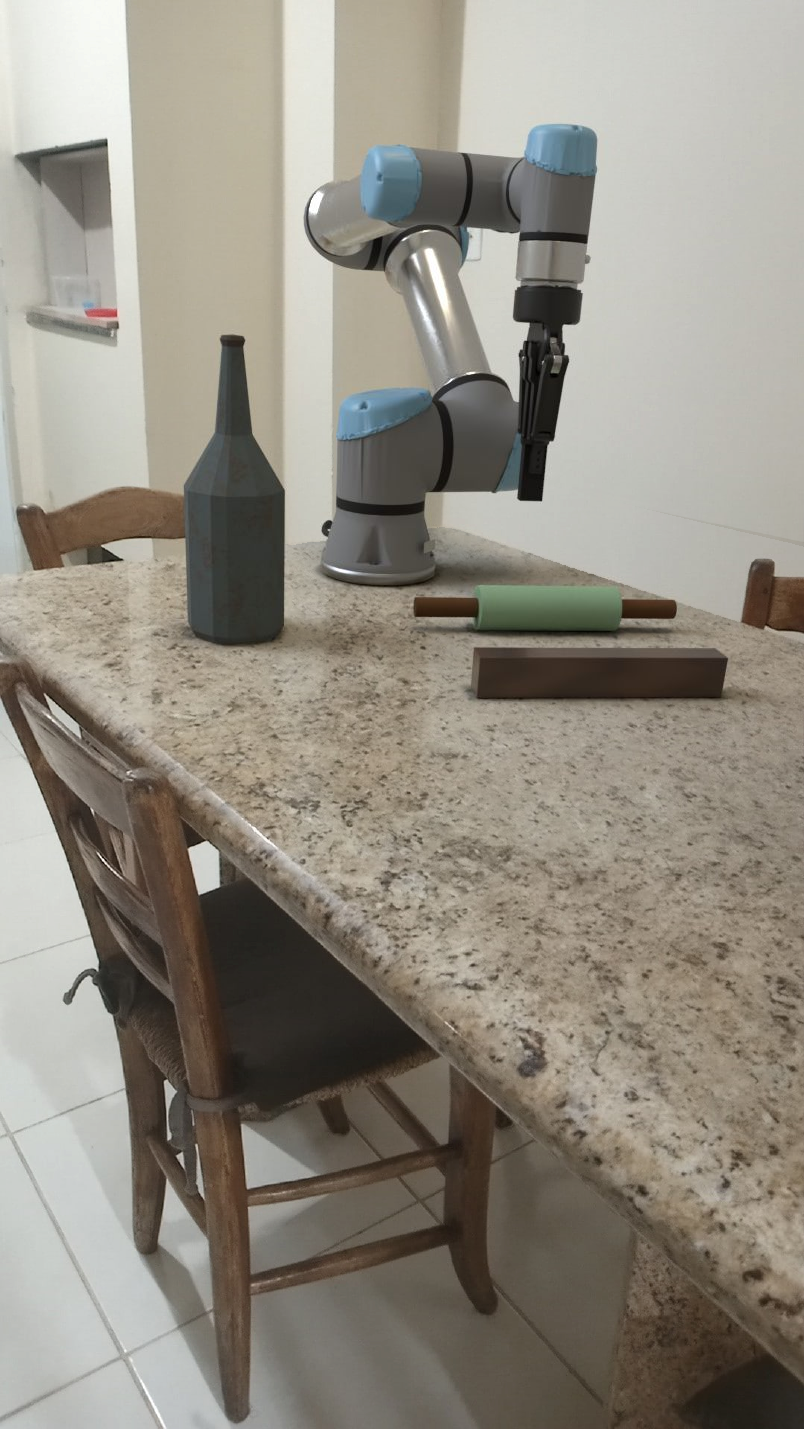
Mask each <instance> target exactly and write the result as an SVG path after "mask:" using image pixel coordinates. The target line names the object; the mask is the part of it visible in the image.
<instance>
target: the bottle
mask: <svg viewBox="0 0 804 1429" xmlns="http://www.w3.org/2000/svg"><path fill="white" fill-rule="evenodd" d="M219 342H220V345H221V351H220V362H219V364H220V365H219V374H218V375H219V376H218V377H219V378H218V389H217V400H216V411H215V412H216V413H215V424H214V433H213V435H212V436H211V437H210V440H209V441H208V443H207V445H206V446H205V448H204V450H203V452H202V453H201V455H200V457H199V458H198V460H197V462H196V463H195V465H194V467H193V468H192V470H191V472H190V473H189V475H188V477H187V479H186V480H185V482H184V484H183V506H184V507H183V508H184V509H183V510H184V538H185V539H184V540H185V541H184V542H185V544H184V545H185V571H186V572H185V574H186V607H187V622H188V624H189V627H190V630H191V631H192V632H193V634H194V637H195V638H196V639H197V638H198V639H199V640H204V641H207V642H210V643H214V644H217V645H219V644H220V645H226V646H227V645H229V646H231V645H249V644H250V645H251V644H260V643H263V642H264V643H265V642H268V641H270V640H272V639H273V638H275V637H276V636H278V635H279V634H280V633H281V632H282V630H283V628H284V626H285V565H286V564H285V556H286V555H285V554H286V551H285V550H286V549H285V548H286V545H285V542H286V539H285V538H286V531H285V530H286V490H285V488H284V486H283V483H281V481H280V479H279V477H278V476H277V474H276V472H275V471H274V468H273V467H272V465H271V463H270V462H269V460H268V459H267V456H266V455H265V454H264V452H263V450H262V448H261V446H260V445H259V442H258V441H257V440H256V438H255V436H254V434H253V426H252V417H251V416H252V415H251V408H250V399H249V397H250V396H249V388H248V378H247V368H246V360H245V358H246V357H245V350H244V346H245V344H246V338H245V336H243V335H239V334H230V333H229V334H221V335H220V337H219Z"/></svg>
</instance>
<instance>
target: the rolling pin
mask: <svg viewBox="0 0 804 1429" xmlns="http://www.w3.org/2000/svg"><path fill="white" fill-rule="evenodd" d="M412 606H413V617H415V618H472V621H473V622H472V623H473V627H474V629H475V630H476V631H557V632H560V631H561V632H563V631H565V632H566V631H567V632H568V631H570V632H573V631H575V632H576V631H577V632H578V631H579V632H582V631H583V632H585V631H586V632H615V631H617V630H618V628H619V627H620V625H621V624H620V623H621V621H622V620H623V619H625V620H630V619H631V620H637V619H638V620H673V619H675V618H676V616H677V613H678V605H677V602H676V600H675V599H653V598H652V599H651V598H649V599H648V598H646V599H645V598H644V599H643V598H641V599H639V598H638V599H637V598H622V594H621V591H620V589H619V588H618V587H617V586H598V585H597V586H596V585H595V586H592V585H591V586H588V585H587V586H586V585H514V584H513V585H512V584H506V585H503V584H498V585H497V584H477V585H476V586H475V588H474V591H473V594H472V597H457V596H456V597H455V596H454V597H453V596H452V597H450V596H448V597H447V596H446V597H445V596H443V597H442V596H439V597H438V596H415V597H414V599H413V605H412Z"/></svg>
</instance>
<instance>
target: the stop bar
mask: <svg viewBox="0 0 804 1429" xmlns="http://www.w3.org/2000/svg"><path fill="white" fill-rule="evenodd" d="M472 652H473V654H472V665H471V679H470V689H471V690H472V692H473V693H474V696H475V697H476V699H543V698H545V699H547V698H549V699H550V698H551V699H552V698H553V699H557V698H558V699H559V698H560V699H561V698H563V699H564V698H565V699H567V698H570V699H571V698H572V699H573V698H574V699H575V698H581V699H582V698H583V699H585V698H589V699H590V698H592V699H593V698H594V699H595V698H596V699H597V698H722V696H723V690H724V684H725V679H726V672H727V668H728V662H729V657H727V656H726V655H725V654H724V653H722V652H721V651H720V650H718V648H716V647H523V646H522V647H520V646H519V647H518V646H517V647H513V646H512V647H509V646H507V647H504V646H503V647H502V646H501V647H496V646H494V647H493V646H489V647H488V646H484V647H483V646H479V647H477V646H474V647H473V651H472Z"/></svg>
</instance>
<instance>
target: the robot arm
mask: <svg viewBox="0 0 804 1429" xmlns="http://www.w3.org/2000/svg"><path fill="white" fill-rule="evenodd" d="M523 151H524V152H523V156H521V157H511V156H503V155H502V156H501V155H492V154H483V153H482V154H480V153H470V152H460V151H457V152H456V151H446V150H439V149H429V148H420V147H412V146H411V147H410V146H407V145H406V144H393V145H386V144H385V145H382V144H378V145H377V144H376V145H374V146H372V147H371V148H370V149H369V150H368V152H367V154H366V156H365V157H366V158H365V159H364V160H363V164H362V167H361V173H360V174H359V175H357V176H355V177H353V178H351V179H349V180H345V179H336V180H331V181H328V182H326V183H324V184H323V185H321V186H320V187H318V188H317V189H316V190H315V191H314V192H313V193H311V195H310V197H309V198H308V200H307V201H306V205H305V207H304V210H303V213H304V214H303V229H304V232H305V235H306V237H307V240H308V242H309V244H310V245H311V247H312V248H313V249H314V250H315V251H316V252H317V253H318V254H319V255H320V256H321V257H322V258H324V259H325V260H327V261H329V262H330V263H332V264H335V265H336V266H339V267H342V268H345V269H350V270H351V269H352V270H356V271H357V270H358V271H361V270H362V271H370V272H371V271H372V272H384V276H385V278H386V282H387V283H388V284H389V287H390V288H391V289H392V290H393V291H394V292H395V293H396V294H398V295H399V296H401V297H402V299H403V302H404V305H405V309H406V313H407V315H408V318H409V319H408V320H409V322H410V325H411V329H412V332H413V335H414V339H415V343H416V345H417V348H418V352H419V355H420V359H421V362H422V365H423V367H424V371H425V374H426V379H427V382H428V385H429V388H430V390H429V389H427V388H425V387H402V388H401V387H390V388H380V389H372V390H366V391H362V392H356V393H353V394H351V395H349V396H347V397H345V399H344V400H343V401H342V402H341V404H340V406H339V410H338V420H337V429H336V432H335V438H336V439H337V446H336V483H335V484H336V485H335V488H336V490H335V492H336V493H335V513H334V517H333V519H332V520H331V519H328V520H325V521H324V522H323V523H322V526H321V534H322V535H323V536H324V537H326V538H327V539H326V542H325V546H324V547H323V549H322V552H321V556H320V571H321V572H322V573H323V574H325V575H326V576H328V577H330V578H333V579H335V580H339V581H343V582H347V583H353V584H360V585H368V586H369V585H371V586H401V585H403V586H404V585H412V584H418V583H422V582H425V581H428V580H430V579H432V578H433V577H434V576H435V574H436V557H435V554H434V552H433V551H435V549H436V538H434V539H430V534H429V530H428V525H427V522H426V517H425V511H426V510H425V509H426V498H427V497H426V495H427V493H492V494H497V493H500V492H501V493H503V492H512V491H513V492H514V491H517V495H516V500H518V501H520V502H543V498H544V487H545V479H546V478H545V476H546V466H547V456H548V446H549V444H550V443H551V442H554V441H555V438H556V430H557V426H558V418H559V414H560V406H561V401H562V396H563V395H562V394H563V388H564V383H565V382H564V381H565V377H566V373H567V370H568V366H569V363H570V356H569V354H565V352H566V343H565V342H564V337H563V335H564V334H563V332H564V331H563V328H564V326H576V325H578V324H579V323H580V322H581V314H582V304H583V297H584V296H583V295H584V293H583V292H582V289H578V285H581V284H583V283H584V281H585V273H586V272H585V271H586V265H589V264H590V263H591V258H592V257H591V255H589V254H587V251H588V243H589V236H590V228H591V227H590V226H591V218H592V209H593V200H594V193H595V192H594V191H595V184H596V175H597V172H598V167H597V166H598V165H597V155H598V154H597V153H598V136H597V133H596V132H595V131H594V130H593V129H592V128H591V127H587V126H584V125H579V124H572V123H545V124H539V125H536V126H534V127H532V128H531V129H530V131H529V132H528V134H527V140H526V145H525V150H523ZM468 228H471V229H484V230H491V231H493V232H496V233H500V234H506V233H508V234H511V235H512V234H513V235H514V234H519V235H518V242H517V254H516V266H515V276H514V277H515V280H516V281H517V282H520V284H519V286H517V287H516V289H514V296H513V308H512V319H513V321H514V322H516V323H525V324H528V326H529V327H528V330H527V336H526V340H523V343H522V349H519V352H518V355H517V356H518V362H519V363H518V364H519V381H518V382H519V384H518V386H519V387H518V401H516V400H514V397H513V395H512V392H511V389H510V387H509V384H508V383H507V381H506V380H505V379H504V378H502V377H501V376H499V375H498V374H496V373H493V372H492V369H491V366H490V363H489V360H488V357H487V354H486V352H485V348H484V346H483V342H482V340H481V336H480V334H479V331H478V328H477V326H476V322H475V319H474V317H473V314H472V310H471V308H470V304H469V302H468V299H467V296H466V293H465V291H464V287H463V284H462V282H461V281H462V280H461V278H460V276H459V273H460V271H461V269H462V268H463V267H464V265H465V262H466V259H467V256H468V251H469V245H470V232H469V231H468Z"/></svg>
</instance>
